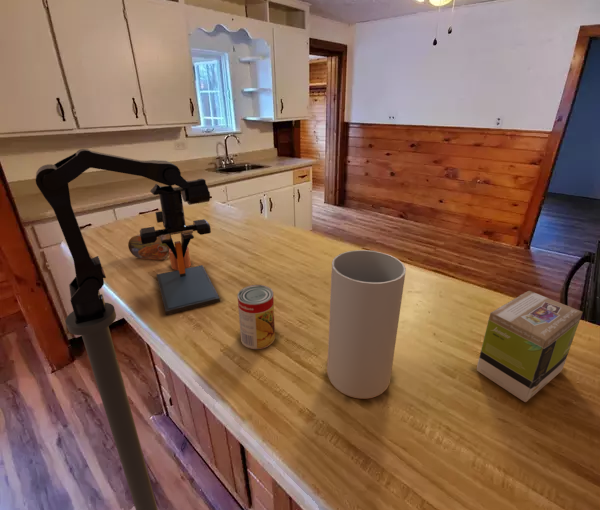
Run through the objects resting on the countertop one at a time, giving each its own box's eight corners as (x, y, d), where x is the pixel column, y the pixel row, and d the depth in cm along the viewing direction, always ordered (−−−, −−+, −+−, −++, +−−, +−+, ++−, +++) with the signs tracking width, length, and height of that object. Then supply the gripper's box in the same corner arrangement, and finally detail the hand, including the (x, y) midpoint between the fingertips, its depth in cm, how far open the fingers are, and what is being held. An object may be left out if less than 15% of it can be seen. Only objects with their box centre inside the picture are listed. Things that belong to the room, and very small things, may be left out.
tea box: (512, 344, 76) (529, 288, 71) (562, 372, 69) (587, 311, 63) (473, 370, 69) (489, 310, 63) (525, 405, 61) (549, 340, 55)
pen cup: (173, 271, 108) (170, 254, 106) (170, 263, 113) (167, 247, 111) (192, 267, 111) (190, 251, 108) (189, 260, 116) (186, 244, 113)
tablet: (166, 315, 86) (165, 311, 86) (157, 277, 104) (156, 274, 104) (220, 301, 92) (219, 297, 92) (202, 268, 110) (202, 264, 110)
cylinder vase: (327, 399, 62) (333, 282, 53) (326, 352, 74) (330, 249, 64) (396, 402, 62) (414, 284, 52) (383, 354, 73) (396, 250, 63)
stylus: (180, 277, 101) (175, 243, 97) (179, 274, 102) (174, 241, 98) (185, 276, 102) (180, 242, 98) (185, 273, 103) (180, 240, 99)
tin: (130, 257, 117) (125, 235, 114) (135, 254, 120) (131, 232, 117) (170, 261, 115) (166, 238, 112) (174, 257, 118) (171, 235, 115)
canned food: (280, 332, 80) (279, 289, 75) (264, 353, 74) (262, 307, 69) (252, 323, 83) (249, 281, 78) (234, 343, 76) (230, 298, 72)
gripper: (200, 196, 104) (205, 242, 110) (134, 204, 96) (144, 253, 103) (208, 206, 95) (213, 255, 101) (136, 215, 87) (146, 268, 93)
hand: (180, 257), depth 100 cm, fingers closed on stylus, 1 cm apart
